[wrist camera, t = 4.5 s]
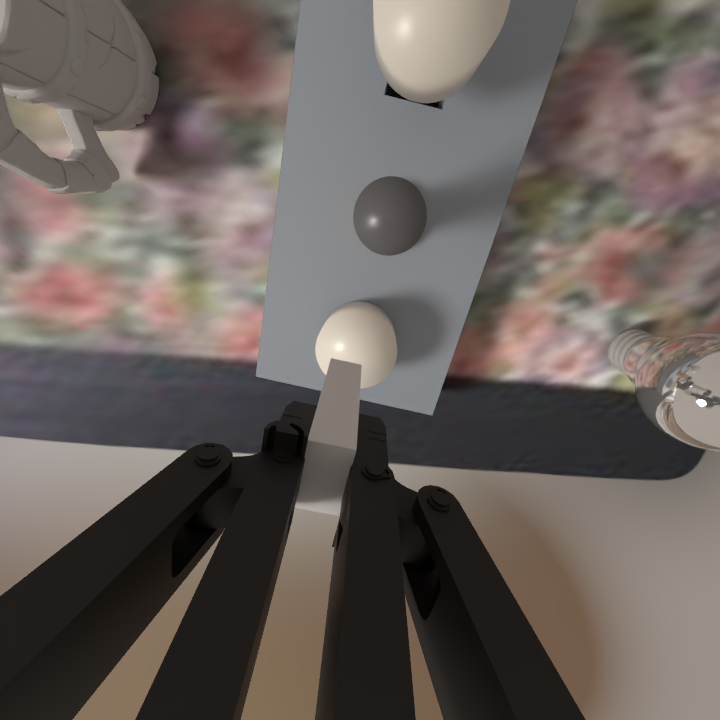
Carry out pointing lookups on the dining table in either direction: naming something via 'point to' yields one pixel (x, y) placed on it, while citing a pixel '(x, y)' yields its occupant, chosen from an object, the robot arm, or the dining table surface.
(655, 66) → the dining table surface
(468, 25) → the knob
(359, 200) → the ball
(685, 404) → the light bulb
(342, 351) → the knob
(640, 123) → the dining table surface
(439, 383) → the panel
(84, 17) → the mug
